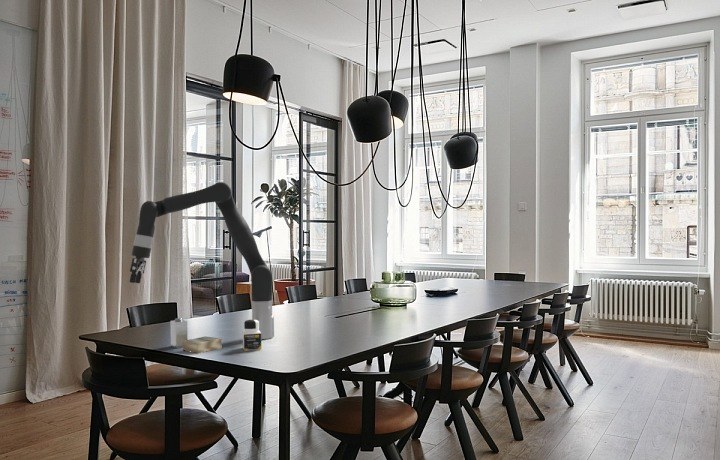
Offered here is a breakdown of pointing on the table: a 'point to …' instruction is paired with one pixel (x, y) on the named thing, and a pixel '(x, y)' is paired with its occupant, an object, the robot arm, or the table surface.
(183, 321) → the housing
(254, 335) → the medicine bottle
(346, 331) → the table surface
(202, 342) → the stand
